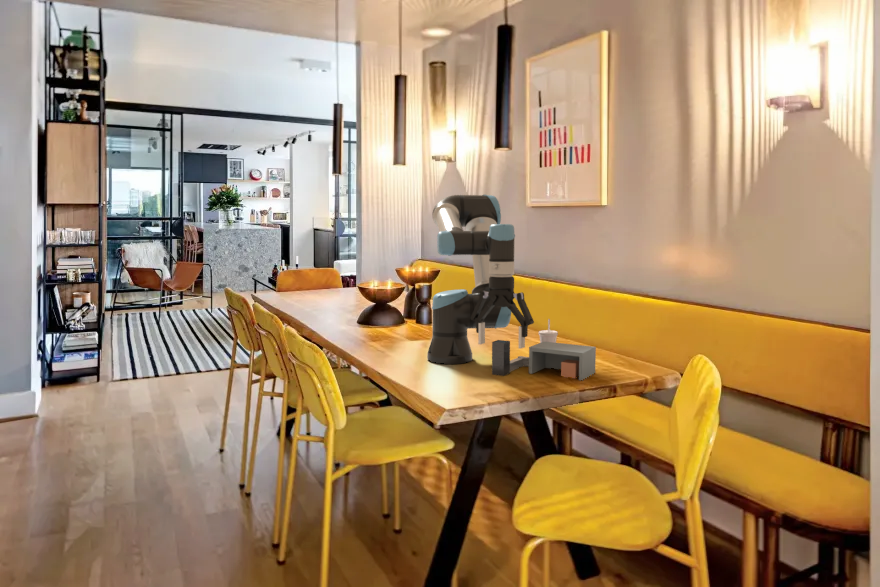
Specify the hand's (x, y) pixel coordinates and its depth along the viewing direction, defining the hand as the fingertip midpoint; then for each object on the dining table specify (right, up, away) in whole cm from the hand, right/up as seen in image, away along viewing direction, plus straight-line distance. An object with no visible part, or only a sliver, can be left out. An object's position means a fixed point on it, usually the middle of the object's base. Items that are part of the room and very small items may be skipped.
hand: (501, 345), depth 198 cm
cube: (+21, -9, -1) cm, 23 cm away
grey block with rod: (+5, -8, +6) cm, 11 cm away
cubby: (+19, -9, +2) cm, 21 cm away
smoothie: (+17, -7, +21) cm, 28 cm away
